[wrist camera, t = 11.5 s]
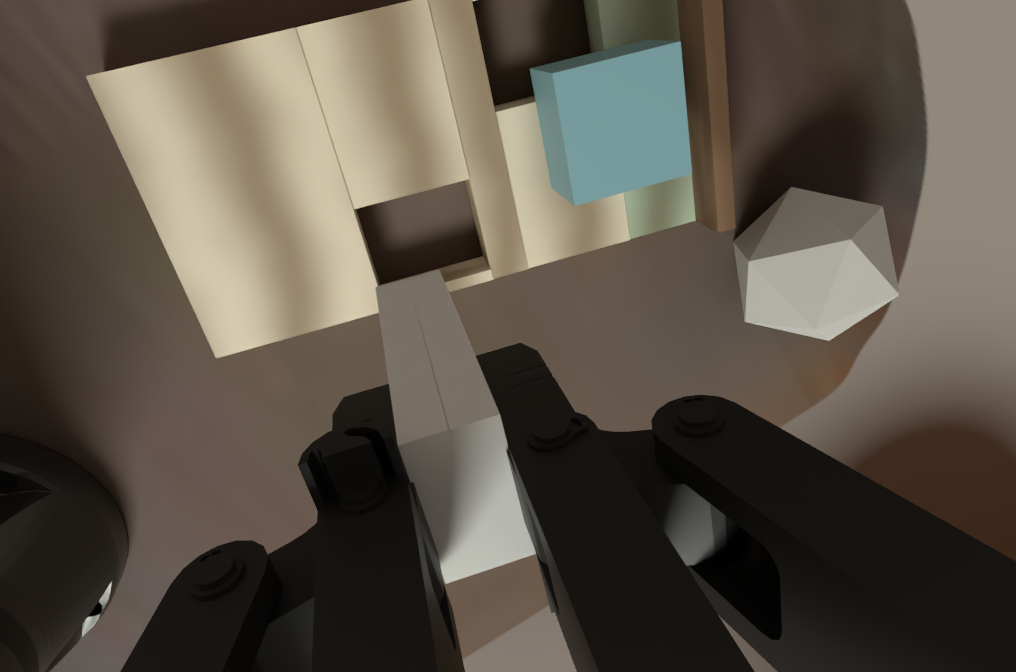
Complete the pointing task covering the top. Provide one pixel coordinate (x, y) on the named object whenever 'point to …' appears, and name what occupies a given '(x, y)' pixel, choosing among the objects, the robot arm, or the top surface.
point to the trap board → (381, 157)
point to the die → (815, 264)
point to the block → (613, 119)
